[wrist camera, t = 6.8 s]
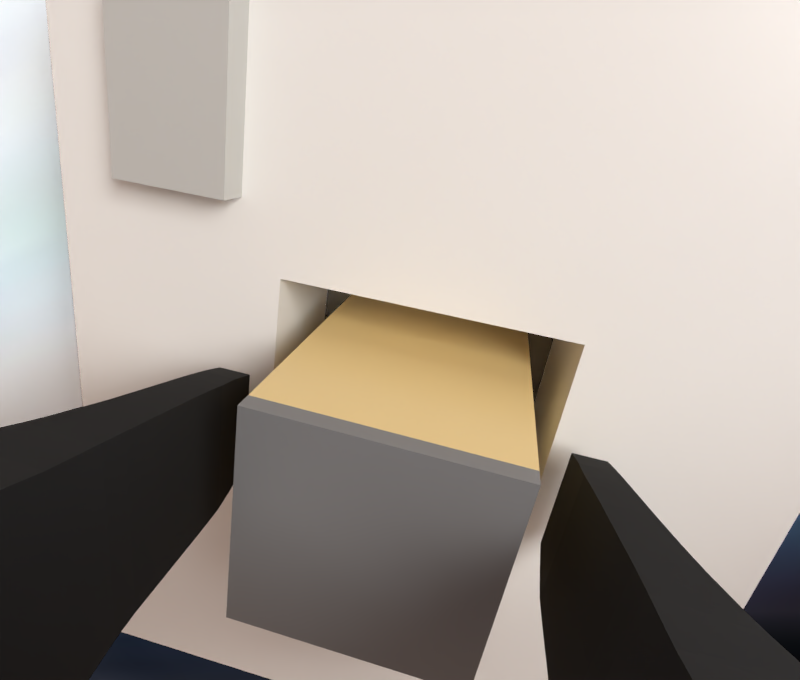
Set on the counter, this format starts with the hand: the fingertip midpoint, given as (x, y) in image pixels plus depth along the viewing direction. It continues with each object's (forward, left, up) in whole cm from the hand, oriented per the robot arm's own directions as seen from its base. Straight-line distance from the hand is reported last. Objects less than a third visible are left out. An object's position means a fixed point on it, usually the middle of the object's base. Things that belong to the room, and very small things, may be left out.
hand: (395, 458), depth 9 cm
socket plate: (0, 0, -4) cm, 4 cm away
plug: (0, 0, -4) cm, 4 cm away
